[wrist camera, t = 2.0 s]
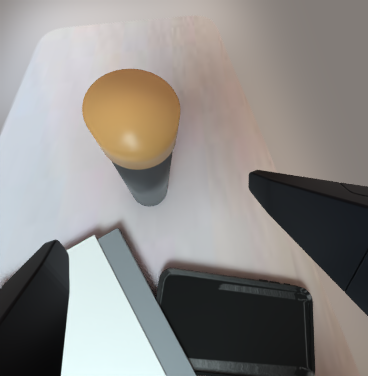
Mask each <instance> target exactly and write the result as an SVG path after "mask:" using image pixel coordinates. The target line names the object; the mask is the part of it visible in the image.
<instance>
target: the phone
mask: <svg viewBox="0 0 368 376" xmlns="http://www.w3.org/2000/svg"><path fill="white" fill-rule="evenodd" d="M156 301H157V303H158V305H159V306H160V308H161V310H162V312H163V314H164V316H165V317H166V319H167V321H168V323H169V325H170V327H171V329H172V331H173V332H174V334H175V336H176V338H177V340H178V342H179V344H180V345H181V347H182V349H183V351H184V353H185V355H186V357H187V359H188V360H189V362H190V364H191V366H192V368H193V370H194V372H195V374H196V375H204V376H315V354H314V326H313V301H312V297H311V295H310V293H309V292H308V291H307V290H306V289H304V288H301V287H298V286H294V285H290V284H285V283H284V284H280V283H279V282H272V281H270V282H268V281H267V280H260V279H259V280H253V279H246V278H239V277H232V276H225V275H218V274H211V273H204V272H197V271H190V270H183V269H176V268H169V269H166V270H165V271H164V272H163V273H162V274H161V276H160V279H159V284H158V290H157V296H156Z"/></svg>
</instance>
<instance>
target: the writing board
mask: <svg viewBox="0 0 368 376" xmlns="http://www.w3.org/2000/svg"><path fill="white" fill-rule="evenodd" d="M66 251H67V252H68V255H69V279H70V293H69V304H68V313H67V323H66V332H65V342H64V352H63V361H62V371H61V376H198V375H196V374H195V372H194V370H193V368H192V366H191V364H190V362H189V360H188V359H187V357H186V355H185V353H184V351H183V349H182V347H181V345H180V344H179V342H178V340H177V338H176V336H175V334H174V332H173V331H172V329H171V327H170V325H169V323H168V321H167V319H166V317H165V316H164V314H163V312H162V310H161V308H160V306H159V305H158V303H157V301H156V297H155V295H154V293H153V291H152V289H151V287H150V285H149V284H148V282H147V280H146V278H145V276H144V274H143V272H142V270H141V269H140V267H139V265H138V263H137V261H136V259H135V257H134V256H133V254H132V252H131V250H130V248H129V246H128V244H127V242H126V241H125V239H124V237H123V235H122V233H121V231H120V229H119V228H117V229H115V230H113V231H111V232H110V233H108V234H106V235H104V236H103V237H101V238H99V239H96V237H95V235H93V236H91V237H90V238H88V239H86V240H84V241H82V242H81V243H79V244H77V245H75V246H74V247H72V248H70V249H68V250H66Z"/></svg>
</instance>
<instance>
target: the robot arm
mask: <svg viewBox="0 0 368 376" xmlns="http://www.w3.org/2000/svg"><path fill="white" fill-rule="evenodd" d="M249 190H250V191H251V193H252V194H253V195H254V196H255V198H256V199H257V200H258V202H259V203H260V204H261V205H262V207H263V208H264V209H265V210H266V212H267V213H268V214H269V215H270V216H271V217H272V218H273V219H274V220H275V221H276V222H277V223H278V224H279V225H280V226H281V227H282V228H283V229H284V230H285V231H286V232H287V233H288V234H289V235H290V236H291V237H292V239H293V240H294V241H295V242H296V243H297V244H298V245H299V246H300V247H301V248H302V249H303V250H304V251H305V252H306V253H307V254H308V255H309V256H310V257H311V258H312V259H313V260H314V261H315V262H316V263H317V264H318V265H319V266H320V267H321V268H322V269H323V270H324V271H325V272H326V273H327V274H328V275H329V276H330V278H331V279H332V280H333V281H334V282H336V284H337V285H338V286H339V287H340V288H341V289H342V290H343V291H345V293H346V294H347V295H348V296H349V297H350V298H351V299H352V300H353V301H354V302H355V303H356V304H357V305H358V306H359V307H360V308H361V309H362V310H363V312H365V314H367V316H368V187H367V186H360V185H353V184H346V183H338V182H333V181H326V180H319V179H313V178H306V177H299V176H293V175H287V174H280V173H274V172H268V171H261V170H255V171H253V172H250V173H249ZM69 293H70V279H69V255H68V252H67V251H66V250H65V248H64V247H63V246H62V244H61V243H60V242H59V241H58V240H53V241H50V242H47V243H45V244H44V245H43V246H42V247H41V248H40V249H39V250H38V251H37V252H36V253H35V254H34V255H33V256H32V257H31V258H30V259H29V260H28V261H27V262H26V263H25V264H24V265H23V266H22V267H21V268H20V269H19V270H18V271H17V272H16V273H15V274H14V275H13V276H12V277H11V278H10V279H9V280H8V281H7V282H6V283H5V284H4V285H3V286H2V287H1V288H0V376H61V371H62V361H63V352H64V342H65V332H66V323H67V313H68V304H69Z"/></svg>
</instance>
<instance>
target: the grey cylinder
mask: <svg viewBox="0 0 368 376" xmlns="http://www.w3.org/2000/svg"><path fill="white" fill-rule="evenodd" d="M82 111H83V117H84V121H85V123H86V125H87V127H88V129H89V130H90V132H91V133H92V135H93V137H94V138H95V140H96V141H97V143H98V144H99V146H100V147H101V149H102V150H103V152H104V153H105V155H106V156H107V157H108V158H109V159H110V160H111V161H112V163H113V164H114V166H115V167H116V169H117V171H118V172H119V174H120V176H121V177H122V179H123V180H124V182H125V184H126V185H127V187H128V189H129V190H130V192H131V193H132V195H133V197H134V198H135V200H136V201H137V202H138V203H140V204H142V205H144V206H154V205H157V204H159V203H160V202H161V201H162V200H163V199H164V198H165V196H166V192H167V186H168V179H169V172H170V165H171V158H172V151H173V149H174V146H175V142H176V137H177V131H178V125H179V119H180V104H179V100H178V97H177V95H176V93H175V92H174V90H173V89H172V87H171V86H170V85H169V84H168V83H167V82H166V81H165V80H163V79H162V78H160V77H159V76H157V75H155V74H153V73H150V72H147V71H144V70H138V69H122V70H116V71H113V72H110V73H108V74H105V75H104V76H102V77H100V78H99V79H98V80H96V81H95V82H94V83H93V84H92V85H91V86H90V88H89V89H88V91H87V93H86V94H85V97H84V100H83V107H82Z"/></svg>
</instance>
